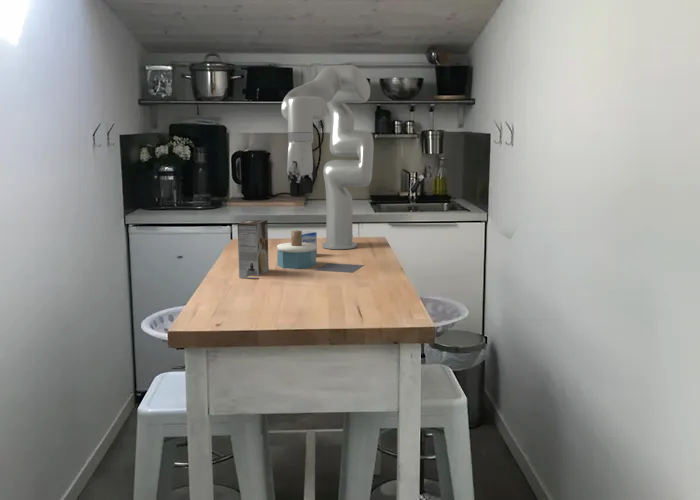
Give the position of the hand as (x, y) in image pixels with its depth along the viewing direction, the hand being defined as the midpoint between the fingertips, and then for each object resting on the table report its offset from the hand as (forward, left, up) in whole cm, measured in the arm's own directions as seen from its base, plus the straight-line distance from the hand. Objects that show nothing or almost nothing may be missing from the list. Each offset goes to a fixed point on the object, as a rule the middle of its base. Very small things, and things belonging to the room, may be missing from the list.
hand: (301, 194), depth 222 cm
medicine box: (-15, -5, -23) cm, 28 cm away
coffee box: (+16, -9, -23) cm, 30 cm away
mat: (+2, +13, -23) cm, 26 cm away
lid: (+2, -1, -17) cm, 17 cm away
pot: (+2, -1, -23) cm, 23 cm away
